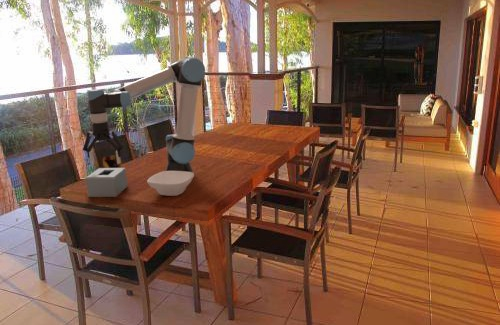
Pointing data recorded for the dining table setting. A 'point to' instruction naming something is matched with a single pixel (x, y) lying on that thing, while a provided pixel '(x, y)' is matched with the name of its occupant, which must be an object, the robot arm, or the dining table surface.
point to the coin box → (106, 182)
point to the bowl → (170, 182)
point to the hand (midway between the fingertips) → (105, 163)
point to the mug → (111, 162)
